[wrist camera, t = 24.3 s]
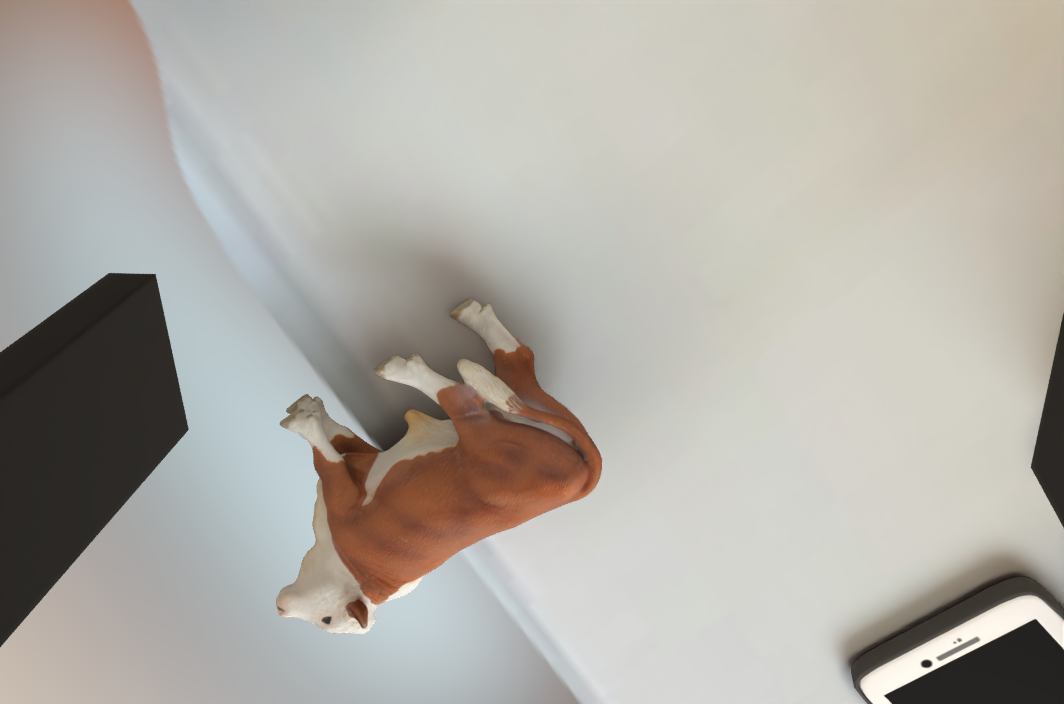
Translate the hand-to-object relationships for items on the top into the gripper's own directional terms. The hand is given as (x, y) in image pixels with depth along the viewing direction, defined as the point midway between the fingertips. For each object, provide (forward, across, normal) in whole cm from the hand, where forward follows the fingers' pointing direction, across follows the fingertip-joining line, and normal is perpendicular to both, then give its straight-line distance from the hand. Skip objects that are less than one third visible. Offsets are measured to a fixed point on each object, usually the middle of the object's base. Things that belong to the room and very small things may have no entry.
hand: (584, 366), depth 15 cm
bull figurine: (+15, -10, -8) cm, 20 cm away
